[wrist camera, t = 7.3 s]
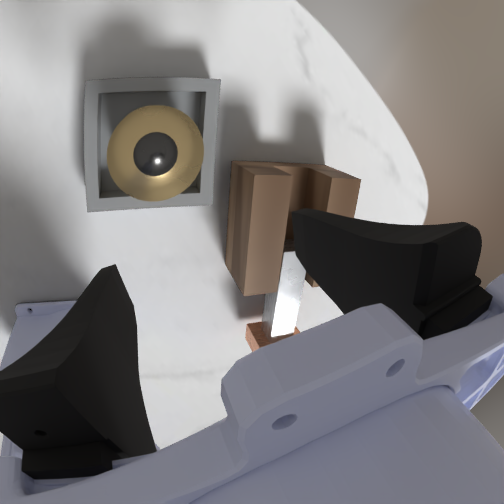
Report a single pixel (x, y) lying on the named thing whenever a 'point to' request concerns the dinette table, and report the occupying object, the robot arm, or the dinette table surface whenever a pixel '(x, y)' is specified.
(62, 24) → the dinette table surface
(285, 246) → the shaft
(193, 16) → the dinette table surface
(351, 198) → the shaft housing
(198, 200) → the socket
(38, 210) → the dinette table surface
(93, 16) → the dinette table surface
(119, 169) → the pepper mill
